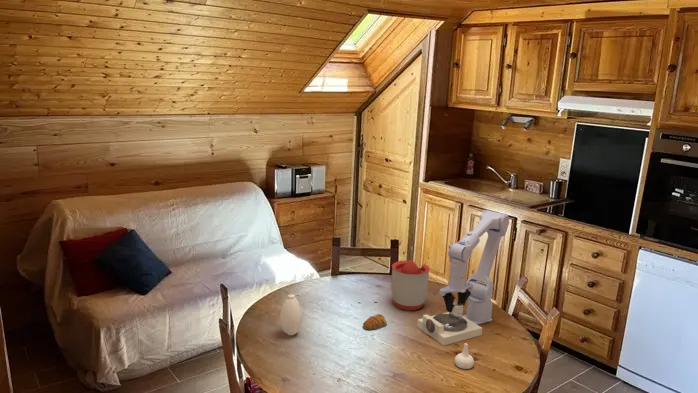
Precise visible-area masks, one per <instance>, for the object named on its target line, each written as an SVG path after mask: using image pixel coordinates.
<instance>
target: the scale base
mask: <svg viewBox="0 0 698 393" xmlns="http://www.w3.org/2000/svg"><path fill="white" fill-rule="evenodd" d="M442 314H449V312H448V311H446V312H443V313H442ZM436 315H437V314H435V315H434V314H433V315H429V314H423V315H422V317H421V318H418V319H417V324H416V325H417V326H416V327H417V328H418V329H420V330H421V331H422V332H424V333H425V334H427V335H428V336H429V337H431V338H432V339H433V340H435V341H437V342H438V343H439V344H440V345H442V346H447V345H451V344H455V343H459V342H461V341H465V340H469V339H472V338H476V337H480V336H483V335H482V334H483V327H481V326H480V325H479V324H475V323H473V322H472V321H470V320H469V319H467V318H465V317H464V316H462V318H464V319H465V320H466V321H467V327H466V329H464V330H462V331H445V330H444V325H442V324H441V323H439V322H438V321H436V320H435V319H433V317H434V316H436Z"/></svg>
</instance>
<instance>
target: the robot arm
mask: <svg viewBox="0 0 698 393" xmlns="http://www.w3.org/2000/svg"><path fill="white" fill-rule="evenodd" d="M509 224H510V218H509V215H508V214H506V213H502V212H496V211H493V210H488V209H483V211H482V212H481V213H480V216H479V221H478V223H477V224H476V225H475V227H474V228H473V229H472V231H471V230H470V231H467V232H466V233H465V234H464V235H463V237H461V238H460V239H459V241H458V242H454V243H451V245H450V246H449V248H448V252H447V255H448V257H449V258H448V261H449V263H450V266H449V267H450V268H449V281H448V285H446V286H444V287H442V288H439V291H438V292H439V293H438V294H439V295H440V296H442V298H443V300H444V303H445V310H446V312H452V307H453V302H454V301H455V299H456V296H454V295H453V293H457V301H458V302H461V303H463V309H464V308H465V305H466V302H467V309H466V314H464V315H463V316H464V317H465V318H467V319H469V320H470V321H472V322H473V323H475V324H477V325H480V324H484V323H487V322H493V318H492V312H493V301H492V300H491V298H492V296H493V293H494V282H493V281H492V279H491V277H490V274H491V271H492V268H493V265H494V261H495V259H496V256H497V252H498V250H499V247H500V243H501V240H502V237H505V236H506V233H507V232H508V228H509ZM485 233H487V239H486V242H485V246H484V248H483V251H482V253H481V257H480V261H479V263H478V266H477V270H476V272H475V273H473V274H471V275H469V277H468V279H467V281H466V273H467V265H468V261H469V260H470V258H471V255H472V253H473V250H474V249H475V248H476V247H477V246H478V244H479V243H480V241H481V240H480V238H481V237H482V236H483V235H484V234H485Z"/></svg>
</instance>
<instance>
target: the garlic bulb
mask: <svg viewBox="0 0 698 393" xmlns="http://www.w3.org/2000/svg"><path fill="white" fill-rule="evenodd" d="M463 344H464V346H463V349H462V352H460V353H458V354H457V355H455V358H454V365H455V366H456V367H457V368H460V369H462V370H469V369H471V368H473V367H474V365H475V364H474V363H475V360H474V358H473V356H472V355H471V354H469V346H468V343H466V342H465V343H463Z"/></svg>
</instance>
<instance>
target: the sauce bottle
mask: <svg viewBox="0 0 698 393" xmlns="http://www.w3.org/2000/svg"><path fill="white" fill-rule="evenodd" d="M302 323H303V313H302V308H301V305H300V302H299V301H298V299H297V298H296V295H295V294H293V289H292V288H290V294H288V295H287V298H286V299H285V300H284V302H283V304H282V306H281V310H280V315H279V324H280V328H281V330H282V331H283V333H285V334H286V333H287V334H288V336H294V335H296V334H297V333H298V332H299V331H300V329H301V326H302ZM287 334H286V335H287Z"/></svg>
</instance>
